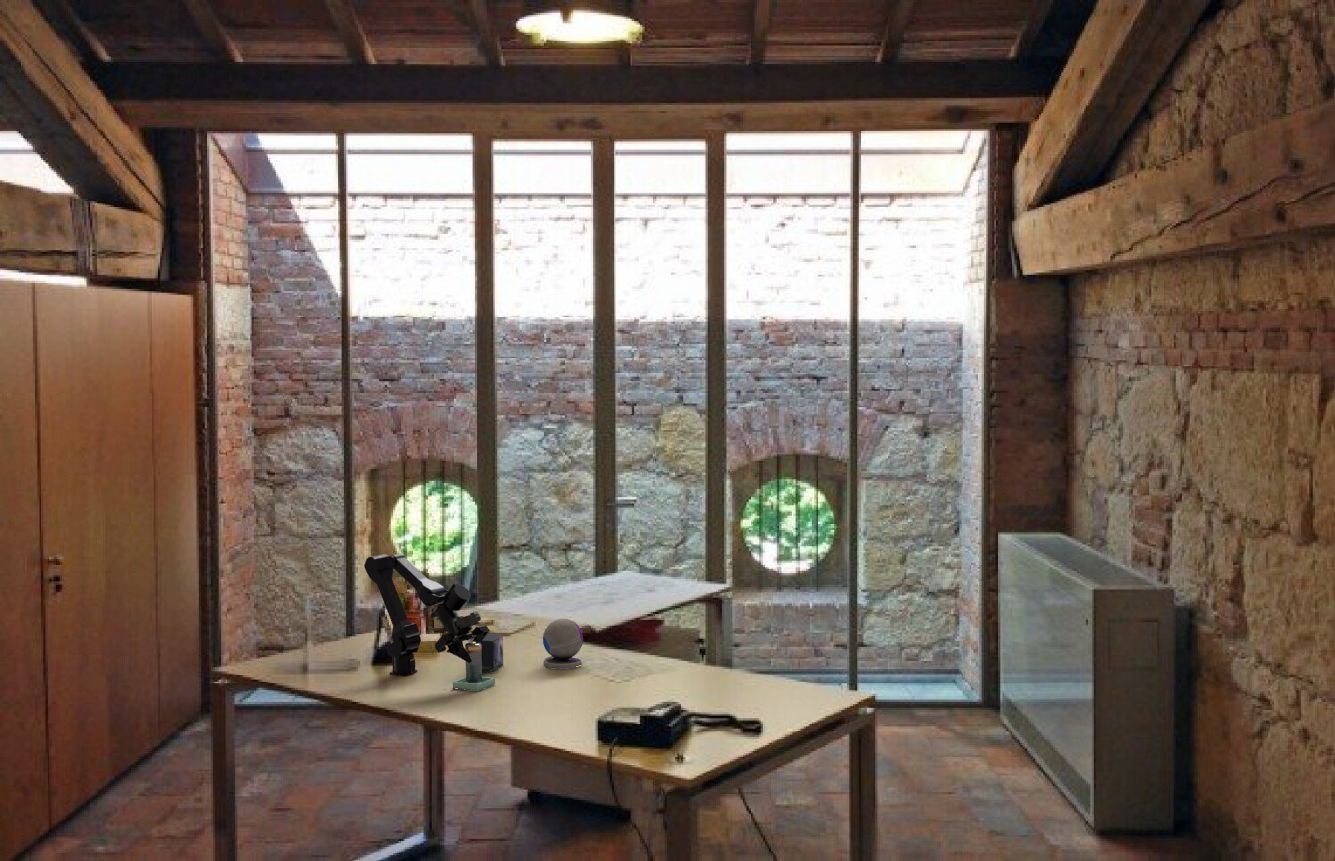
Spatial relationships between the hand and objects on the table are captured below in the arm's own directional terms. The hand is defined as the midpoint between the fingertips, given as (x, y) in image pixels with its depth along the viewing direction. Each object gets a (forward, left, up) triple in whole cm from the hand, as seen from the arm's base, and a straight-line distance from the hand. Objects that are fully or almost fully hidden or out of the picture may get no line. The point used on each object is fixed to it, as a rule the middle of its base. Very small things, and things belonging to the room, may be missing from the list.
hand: (476, 660), depth 440 cm
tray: (-1, 0, -8) cm, 8 cm away
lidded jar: (-1, 0, -7) cm, 7 cm away
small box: (-9, +21, -9) cm, 25 cm away
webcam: (+10, +35, -8) cm, 38 cm away
